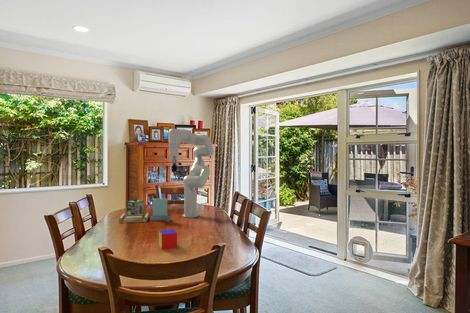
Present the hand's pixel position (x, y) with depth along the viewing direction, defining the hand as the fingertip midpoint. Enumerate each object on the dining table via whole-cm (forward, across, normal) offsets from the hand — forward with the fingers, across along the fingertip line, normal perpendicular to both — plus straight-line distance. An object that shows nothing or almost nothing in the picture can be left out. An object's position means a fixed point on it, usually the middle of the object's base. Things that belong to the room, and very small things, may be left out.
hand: (174, 170), depth 220 cm
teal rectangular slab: (+35, -6, -10) cm, 37 cm away
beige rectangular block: (+35, -3, -28) cm, 45 cm away
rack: (+36, -8, -28) cm, 46 cm away
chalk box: (+36, -28, -30) cm, 55 cm away
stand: (+36, -6, -10) cm, 38 cm away
